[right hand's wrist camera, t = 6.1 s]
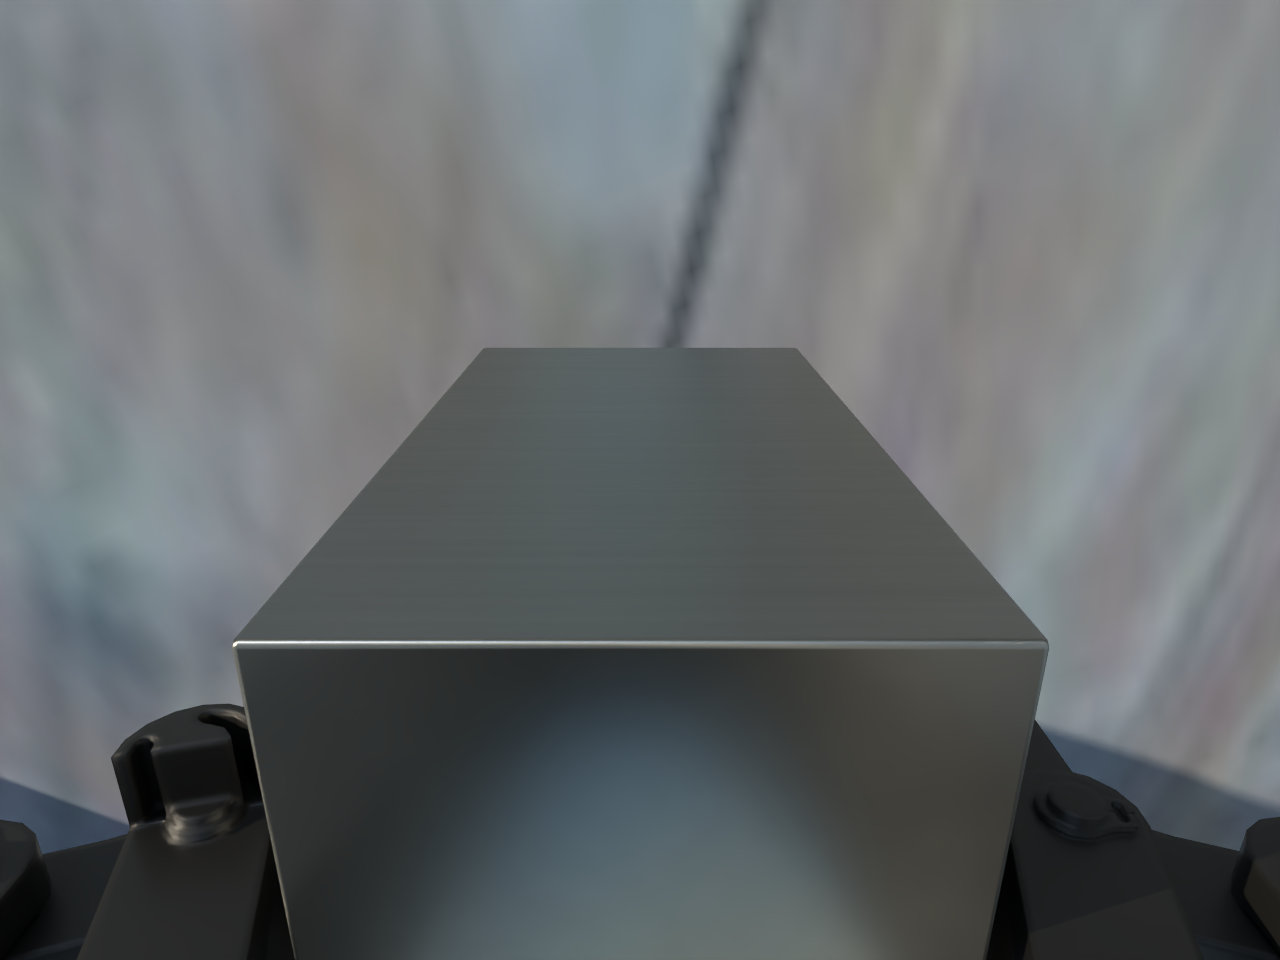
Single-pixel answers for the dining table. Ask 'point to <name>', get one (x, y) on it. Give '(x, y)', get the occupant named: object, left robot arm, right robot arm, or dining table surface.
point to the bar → (640, 682)
